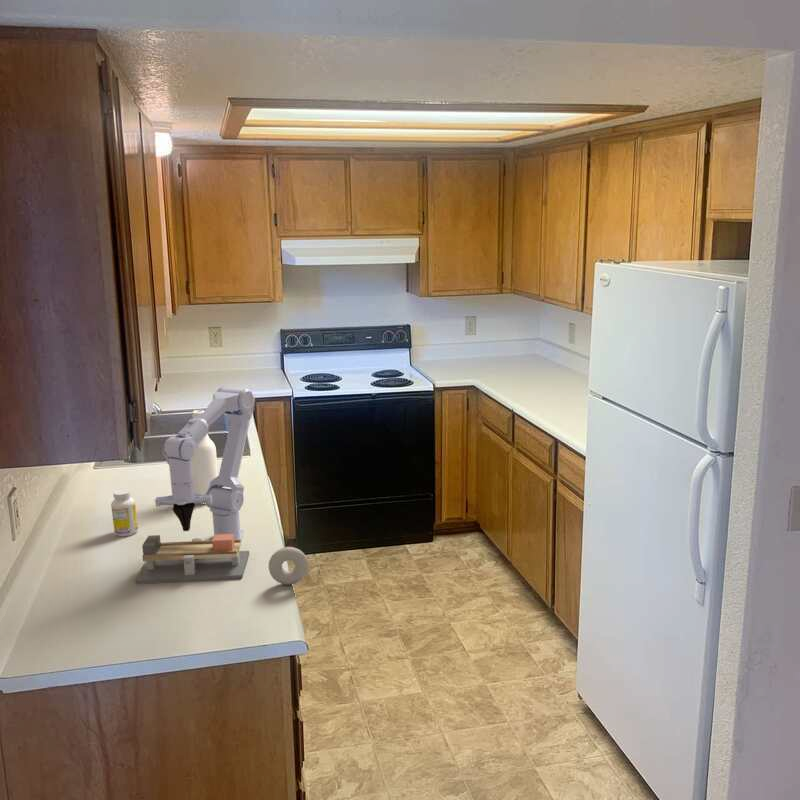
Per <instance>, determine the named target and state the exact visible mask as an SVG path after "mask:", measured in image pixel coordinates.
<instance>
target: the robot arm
mask: <svg viewBox="0 0 800 800" xmlns="http://www.w3.org/2000/svg"><path fill="white" fill-rule="evenodd" d="M255 402H256V398H255V396H254V394H253V391H252V390H251V389H249V388H236V387H227V386H220V387H219V388H218V389H217V390H215V392H214V393H213V396H212V401H211V402H210V403H209V404H208V406H206V408H205V410H204V412H203V413H202V414H201V416H200V417H199V418H193V417H192V418H190V419H189V420H187V423H186V424H185V425H184V426H183V428H182V429H181V430H180V431H179V432H178V433H177V434H176V435H175V436H173V435H172V436H170V437H168V438H167V439H166V440H165V442H164V444H163V449H162V455H163V456H164V458H166V463H167V465H168V466H169V475H170V476H169V477H170V487H171V495H166V496H165V495H164V496H157V497H156V498H155V499H154V502H155V503H154V504H155V507H160V506H173V508H172V511H173V513H174V514H175V516H176V517H177V519H178V521H179V522H180V525H181V526H182V527H181V528H182V530H183V532H189V531H190V529H191V521H192V517H193V513H194V509H195V507H196V505H197V504H199V505H204V504H203V503H206V504H205V505H206V507H208V508H209V511H210V512H211V513H212V514H211V515H212V523H213V524H212V525H213V534H214V535H219V534H234V540H235V539H241V540H242V539H243V535H244V532H245V530H244V529H241V524H240V522H241V521H240V511H241V509H242V507H243V504H244V491H245V490H244V489H245V487H244V485H243V484H242V482H240V480H239V474H240V469H241V464H242V460H243V455H244V450H245V445H246V441H247V436H248V432H249V427H250V422H251V419H252V415H253V411H254V406H255ZM222 415H224V416H226V417H227V418H228V420H229V427H228V432H227V435H226V440H225V444H224V445H225V446H224V450H223V454H222V459H221V464H220V469H219V472H218V476H217V477H216V478H214V479H213V480H212V481H211V482H210V486H209V488H208V490H207V492H206V494H205V495H203V494H195V493H194V482H193V471H192V460H191V458H192V457H193V456H194V454H195V450H196V448H197V446H198V443H199V442H200V441H201V440H202V439H203V438H204V437H205V436H206V435H207V434H208V435H209V430H210V429H209V427H210V426H211V425H212V424H213V423H215V421H216V420H217V419H218V418H220V417H221V416H222ZM214 535H213V536H214Z"/></svg>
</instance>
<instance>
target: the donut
mask: <svg viewBox="0 0 800 800" xmlns="http://www.w3.org/2000/svg"><path fill="white" fill-rule="evenodd" d="M288 561H291V562H293V563H294V565H295V567H294V568H293V569H292V570H286V569H284V568H283V564H284V563H285V562H288ZM309 564H310V563H309V560H308V557H307V556H306V553H304V552H303V551H302V550H301V549H299V548H296V547H293V546H284V547H281V548H279V549H277V550H276V551H275V552H273V554H272V555H271V556H270V558H269V561H268V571H269V574H270V576H271V577H272V579H273V580H274V581H275V582H277V583H279V584H281V585H288V586H291V585H295V584H298V583H299V582H301V581H302V580H303V579H304V578H305V577H306V575H307V574H308V571H309Z"/></svg>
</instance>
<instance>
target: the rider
mask: <svg viewBox="0 0 800 800" xmlns="http://www.w3.org/2000/svg"><path fill="white" fill-rule="evenodd" d="M211 541H212V545H213V551H232V550H233V547H234V534H219V535H213V538H212V540H211Z"/></svg>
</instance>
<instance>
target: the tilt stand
mask: <svg viewBox="0 0 800 800" xmlns="http://www.w3.org/2000/svg"><path fill="white" fill-rule="evenodd" d="M191 541H203V540H202V538H198V537H197V538H192V539H191ZM249 556H250V550H239V552H238V555H237V557H227V558H204V559H194V555H185V556H184V558H183V559H182V560H159V561H144V562H145V563H144V564H143V565H142V568H141V569H140V570H139V572H138V574H137V576H136V578H135V579H134V584H135V583H144V584H157V583H156V582H164V583H175V582H176V583H181V582H183V583H184V582H198V581H199V582H201V580H204V581H217V580H218V581H221V580H224V581H225V580H241V579H243V577H244V574H245V570H246V568H247V567H246V566H247V563H248V561H249ZM154 582H155V583H154Z"/></svg>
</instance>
